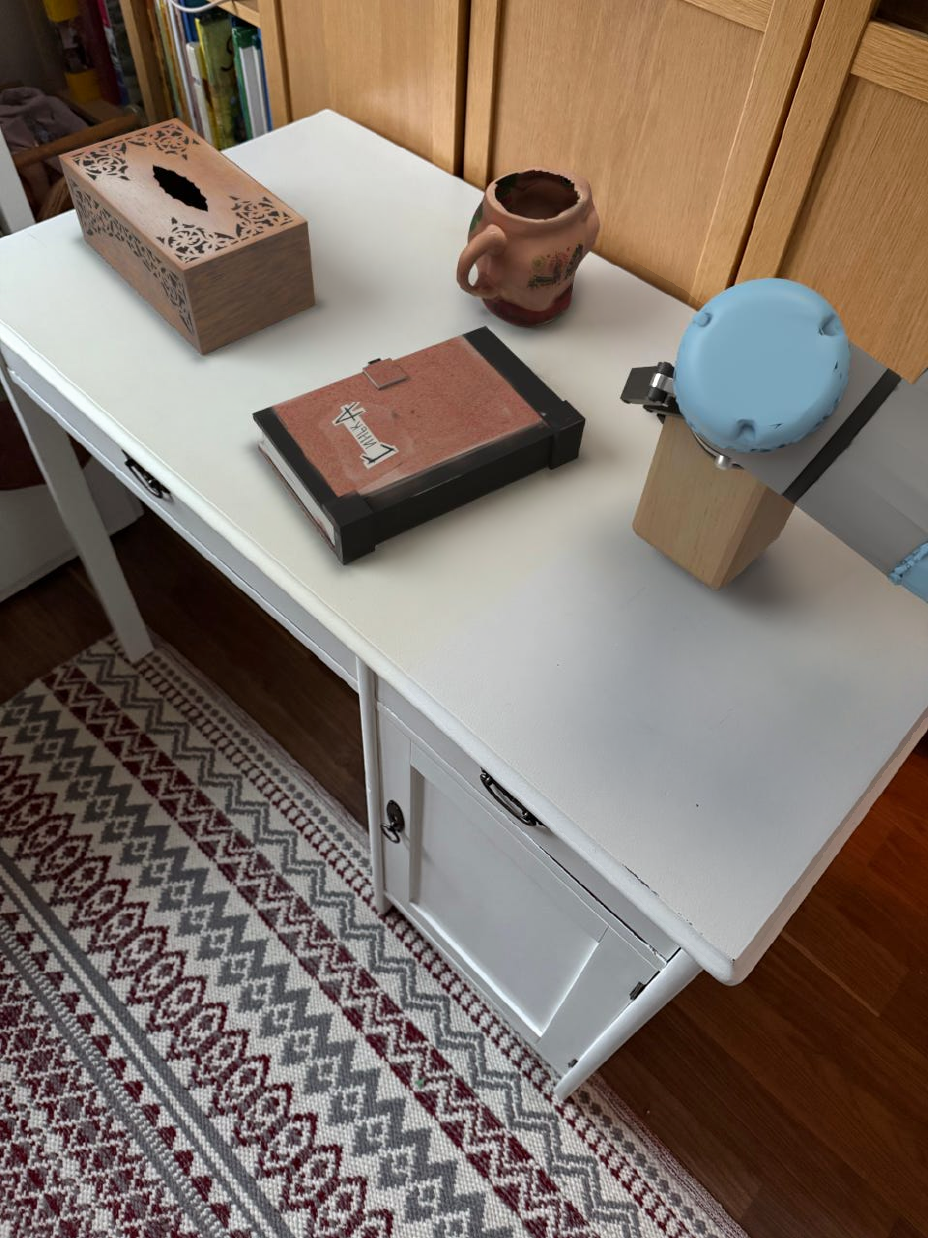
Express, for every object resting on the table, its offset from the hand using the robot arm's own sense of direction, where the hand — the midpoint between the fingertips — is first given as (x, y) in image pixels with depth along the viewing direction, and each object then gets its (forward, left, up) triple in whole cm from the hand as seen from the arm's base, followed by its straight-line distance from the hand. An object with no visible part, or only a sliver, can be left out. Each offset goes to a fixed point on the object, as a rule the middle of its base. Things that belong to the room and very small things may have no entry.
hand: (745, 436), depth 75 cm
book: (+28, +8, -12) cm, 31 cm away
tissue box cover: (+64, -1, -12) cm, 66 cm away
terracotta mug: (+32, -17, -12) cm, 38 cm away
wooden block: (0, +3, -10) cm, 10 cm away
